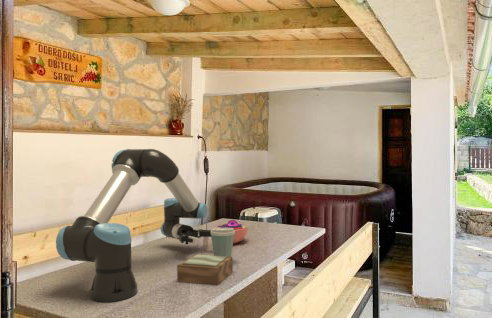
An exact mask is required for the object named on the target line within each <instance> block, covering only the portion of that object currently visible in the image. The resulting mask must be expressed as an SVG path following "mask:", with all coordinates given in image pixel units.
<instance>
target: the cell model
mask: <svg viewBox="0 0 492 318" xmlns="http://www.w3.org/2000/svg"><path fill="white" fill-rule="evenodd" d="M215 228H233V229H234V231H235V234H234V240H233V244H238V243H240V242H241V241H243V240H244V239H245V238H246V237H247V235H248V226H247V225H246V224H244V223H238V222H237V220H235V219H230V220H228V221H227V223H223V224H219V225H216V226H215Z"/></svg>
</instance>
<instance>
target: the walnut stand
mask: <svg viewBox="0 0 492 318" xmlns="http://www.w3.org/2000/svg"><path fill="white" fill-rule="evenodd" d="M233 263H234V262H233V256H231V257H230V256H214V254H213V255H212V254H210V255H209V254H193V255H192V256H190V257H188V258H187V259H185V260H184V261H182V262H180V263H179V264H177V265H176V271H177V272H176V279H177V280H176V281H177V282H180V283H188V284H189V283H190V284H191V283H192V284H203V285H215V286H219V285H220V284H221V283H222V282H223V281H224V280H225V279H226V278H228V277H229V276H230V275H231V274H233V272H234V271H233V270H234V269H233V267H234V266H233Z"/></svg>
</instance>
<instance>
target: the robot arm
mask: <svg viewBox="0 0 492 318" xmlns="http://www.w3.org/2000/svg"><path fill="white" fill-rule="evenodd" d="M111 162H112V163H111V172H112V175H111V177H110V178H109V179H108V181H107V182H106V183H105V185H104V187H103V188H102V189H101V191H100V192H99V194H98V195H97V197H96V198H95V199H94V201H93V202H92V204H91V205H90V207H88V210H87V211H86V212H85V214H84V215H81V216H78V217H77V218H76V219H75V220H74V222H73V223H72V225H66V226H63V227H61V228H60V230H59V231H58V233H57V235H56V237H55V249H56V251H57V253H58V256H60V257H61V258H62V259H63V260H67V261H72V262H75V261H76V262H77V261H78V262H89V263H95V273H94V278H93V281H92V284H91V287H90V288H91V289H90V299H91V300H92V301H96V302H102V303H108V302H109V303H110V302H118V301H123V300H126V299H130V298H131V297H133V296H135V295H136V294H137V293H138V283H137V281H136V277H135V275H134V272H133V268H132V266H133V265H132V236H131V230H130V228H129V227H128V225H125V224H121V223H116V222H112V223H111V222H110V221H111V218H112V217H113V215H114V214H115V212H116V211H117V209H118V208H119V206H120V204H121V203H122V202H123V199H124V198H125V196H126V195H127V193H128V192H129V191H130V189H131V188H132V186H135V185H137V184H138V183H139V181H140V180H141V178H146V177H147V178H149V177H150V178H155V179H158V181H159V182H160V183H162V184H164V185H165V186H166V187H167V189H168V190H169V191H170V193H171V194H172V196H173V197H167V198H165V199H164V202H163V214H164V221H163V222H162V224H161V226H160V232H161V234H162V235H163V236H165V237H167V238H170V239H171V238H172V239H175V240H178V241H179V243H181V244H185V245H189V244H193V245H197V246H198V245H200V243H199V242H200V241H199V239H201V238H202V237H203V238H212V237H211V230H212V229H202V228H201V229H194V228H193V226H191V225H188V224H183V223H181V222H180V221H181V219H202V220H203V219H205V218H206V217H207V216H208V215H207V214H208V206H207V204H206V203H204V202H199V201H198V200H197V198H196V197H195V195H194V194H193V192H192V191H191V189H190V187H189V186H188V185H187V183H186V181H185V180H184V179H183V177H182V176H181V174H180V173H179V172H180V170H179V167H178V166H177V165H176V163H175V162H174V161H173V159H172V158H171V157H169V156H168V155H167V154H165V153H164V152H162V151H160V150H157V149H155V148H154V149H153V148H147V149H145V148H139V149H137V148H134V149H131V148H126V149H122V150H119V151H117V152H115V154H114V156H113V157H112V160H111Z"/></svg>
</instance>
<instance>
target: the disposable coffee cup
mask: <svg viewBox="0 0 492 318" xmlns="http://www.w3.org/2000/svg"><path fill="white" fill-rule="evenodd" d="M210 230H211V237H210V238H211V244H212V251H213V255H214V256H230V257H232V254H233V245H234V243H233V240H234V234H235V231H234V229H233V228H216V227H215V228H212V229H210Z"/></svg>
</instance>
